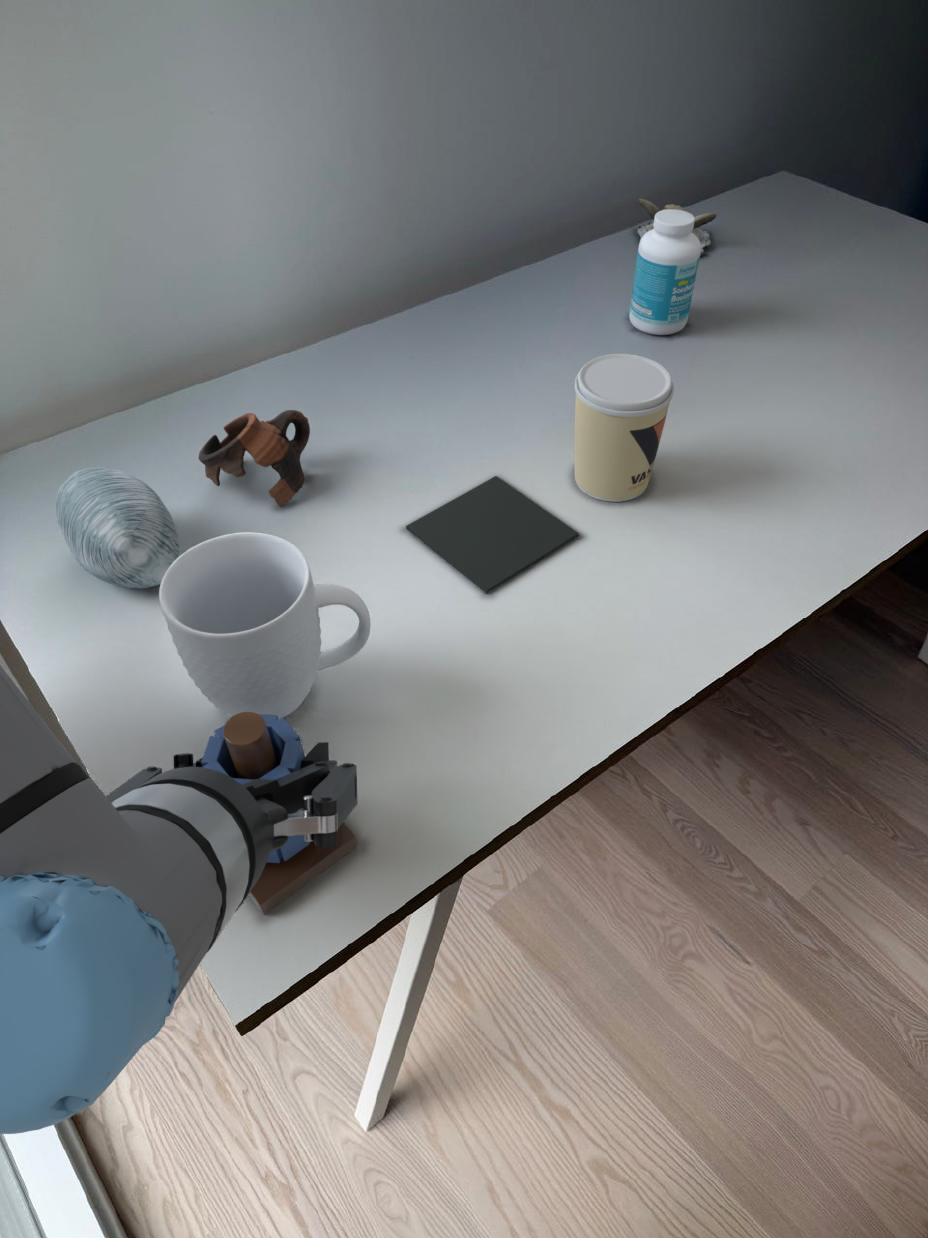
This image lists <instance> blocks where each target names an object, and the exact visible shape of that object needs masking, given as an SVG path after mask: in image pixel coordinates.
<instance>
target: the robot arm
mask: <svg viewBox="0 0 928 1238" xmlns="http://www.w3.org/2000/svg"><path fill="white" fill-rule="evenodd" d="M329 749H330V747H329V742H327V741H325V742H317V743H316V744H315V745H314V746H313V747H312V748H311V750H310V751H309V752H308V753H307V754H306V755H305V758H304V759H303V760H302V769H299V770H297V771H295V772H292V773H290V774H288V775H285V776H283V777H280V778H278V779H276V780H267V779H255V780H252V781H250V782H247V783H245V784H242V785H241V784H240V783H239V782H237V781H236V780H235V779H233V778H231V777H230V776H228V775H226V774H224V773H221V772H219V771H216V770H212V769H208V768H202V767H203V766H202V763H201V762H202V759H203V756H202V757H201V758H199V759H198V760H196V761H195V762H194V754H193V753H191V752H190V753H188V752H184V753H177V754H174V755H173V756H172V757H173V769H169V770H166V771H163V768H162V767H157V766H154V765H153V766H148V767H147V768H143V769H142V770H140V771H138V772H137V773H135V774H134V775H133V776H131V777H130V778H129V779H128V780H126V781H125V782H123V783H122V784H121V785H119V786H118V787H116V788H115V789H114V790H113V791H111V792H110V793H108V794H107V795H106V794H105V793H104V792H103V791H102V789H101V788H100V787H99V786H98V785H97V783H96V782H95V780H93V779H92V778H91V777H90V776H89V775H88V774H87V773H86V771H85V770H84V768H83V767H82V766H81V765H80V764H79V763H78V762H77V761H76V760H75V759H74V757H73V755H71V754H70V753H69V750H68V749H66V747H65V746H64V745H63V743H62V742H61V741H60V740H59V738H58V737H57V736H56V734H55V733H54V732H53V731H52V729H51V727H49V725H48V724H47V723H46V721H45V720H44V719H43V718H42V717H41V715H40V714H39V713H38V711H37V710H36V709H35V708H34V706H33V705H32V703H31V702H30V701H29V700H28V698H27V697H26V696H25V695H24V693H23V692H22V691H21V689H20V688H19V687H18V686H17V685H16V683H15V682H14V681H13V679H12V678H11V676H10V675H9V674H8V673H7V672H6V670H5V669H4V668H3V666H2V665H1V664H0V1135H15V1134H16V1135H17V1134H24V1133H27V1132H32V1131H38V1130H41V1129H45V1128H48V1127H51V1126H55V1125H57V1124H59V1123H62V1122H63V1121H65V1120H68V1119H70V1118H71V1117H73V1116H74V1115H76V1114H78V1113H80V1112H81V1111H83V1110H85V1109H88V1108H89V1107H91V1106H92V1105H93V1104H94V1103H95V1102H96V1101H97V1100H98V1099H99V1097H100V1096H101V1095H102V1094H103V1093H104V1092H105V1091H106V1090H107V1089H108V1088H109V1087H110V1086H111V1084H112V1083H113V1082H114V1081H115V1080H116V1079H117V1077H118V1076H119V1075H120V1074H121V1073H122V1071H123V1070H124V1069H125V1068H126V1066H127V1065H128V1064H129V1063H130V1062H131V1060H132V1059H133V1058H134V1057H135V1056H136V1054H137V1053H138V1052H139V1051H140V1050H141V1048H143V1046H144V1045H146V1044H147V1043H149V1042H150V1041H151V1040H152V1039H154V1038H156V1036H157V1035H158V1034H159V1033H160V1032H161V1030H162V1029H163V1027H164V1026H165V1024H166V1019H167V1018H168V1017H170V1016H171V1014H172V1012H173V1010H174V1007H175V1004H176V1002H177V1000H178V998H179V997H180V996H181V994H182V992H184V991H183V990H184V989H185V987H186V986H187V985H188V983H189V982H190V980H191V978H192V977H193V976H194V974H195V972H196V971H197V969H198V967H199V966H200V964H201V962H202V961H203V959H204V958H205V956H206V955H207V953H208V952H209V951H210V950H211V949H212V947H213V946H214V945H215V943H216V941H218V939H219V937H220V936H221V934H222V933H223V931H224V930H225V929H226V926H227V925H228V924H229V922H230V921H231V920H232V918H233V916H234V915H235V913H237V911H238V910H239V909H240V907H241V906H242V904H244V902H245V901H246V900H247V897H249V895H248V894H249V893H250V892H251V890H252V889H253V887H254V886H255V884H256V883H257V881H258V879H259V878H260V876H261V874H262V872H263V869H264V867H265V865H266V862H267V859H268V857H269V854H270V852H272V851H275V850H277V849H279V848H281V847H283V846H284V845H285V844H286V842H287V840H288V837H289V836H294V835H304V841H306V842H311V841H314V843H315V845H316V846H317V847H321V848H330V847H333V846H336V845H338V829H339V827H340V826H341V825H342V823H343V822H344V823H345V821H346V819H347V818H348V817H349V816H350V814H351V813H352V812H353V810H354V809H355V808H356V807H357V805H358V773H357V772H358V770H357V768H358V767H357V765H356V764H354V763H351V762H345V763H343V764H340V765H338V761H337V760H333V759H332V760H330V755H329V753H330V752H329V751H330V750H329Z"/></svg>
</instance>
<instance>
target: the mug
mask: <svg viewBox="0 0 928 1238" xmlns="http://www.w3.org/2000/svg"><path fill="white" fill-rule="evenodd" d="M158 599H159V605H160V609H161V612H162V614H163V616H164V619H165V622H166V624H167V630H168V632H169V634H170V635H171V638H172V642H173V645H174V646H175V648H176V651H177V654H178V656H179V658H180V660H181V662H182V665H183V667H184V668H185V669H186V671H187V674H188V676H189V677H190V679H191V680H192V681H193V682H194V685H195V686H196V687H197V688H198V689H199V691H200V693H201V694H202V695H203V696H204V697H206V698H207V700H208V701H209V702H210V703H212V704H213V705H214V706H215V708H217V709H218V710H220V711H222V713H224V715H225V714H226V715H227V716H229V717H230V718H231V717H232V716H234V715H235V714H238V713H240V712H246V711H250V712H255V713H258V714H270V715H278V718H279V719H280V718H286V717H287V716H289V715H291V714H292V713H293V712H294V711H296V710H297V709H298V708H299V706H301V704H303V702H304V701H305V699H306V697H307V696H308V694H309V693H310V691H311V690H312V688H313V685H314V682H315V680H316V676H317V673H318V672H321V671H324V670H327V669H329V668H333V667H335V666H338V665H341V664H342V663H344V662H346V661H348V660H350V659H351V658H353V657H355V656H356V655H357V654H358V653H360V652H361V651H362V650H363V648H364V647H365V645H366V644H367V642H368V640H369V638H370V633H371V627H372V626H371V625H372V623H371V615H370V612H369V609H368V606H367V605H366V603H365V601H364V599H363V598H362V597H361V596H360V595H359V594H358V593H357V592H355V591H354V590H352V589H351V588H349V587H346V586H342V585H338V584H332V583H318V584H314V580H313V576H312V572H311V567H310V564H309V561H308V559H307V557H306V556H305V555H304V553H303V552H302V551H301V550H300V549H299V547H298V546H296V545H295V544H293V543H292V542H290V541H288V540H287V539H285V538H282V537H280V536H276V535H273V534H268V533H264V532H263V533H262V532H252V531H250V532H248V531H247V532H244V531H243V532H234V533H227V534H222V535H219V536H216V537H213V538H209V539H207V540H205V541H202V542H200V543H198V544H196V545H194V546H192V547H190V548H188V549H187V550H186V551H184V552H183V553H182V554H180V555H179V557H178V558H177V559H176V560H175V561H174V562H173V563H172V564H171V565H170V567H169V568H168V570H167V571H166V573H165V575H164V577H163V579H162V581H161V584H159V590H158ZM335 605H337V606H345V607H347V608H349V609H350V610H352V611H353V612H354V613H355V614H356V616H357V618H358V626H357V629H356V631H355V632H354V633H353V635H352V636H350V637H349V638H348V639H347V640H346V641H344V642H343V643H341V644H340V645H338V646H336V647H334V648H330V649H327V650H324V651H323V650H321V647H322V638H321V637H322V636H321V634H322V629H321V618H320V615H319V612H320V611H319V610H320V608H325V607H328V606H335Z"/></svg>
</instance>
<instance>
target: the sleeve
mask: <svg viewBox="0 0 928 1238" xmlns="http://www.w3.org/2000/svg"><path fill="white" fill-rule="evenodd" d="M259 715H261V716H262V717H263V718H264V720H265V723H266V726H267V729H268V733H269V736H270V740H271V743H272V746H273V750H274V753H275V757H276V760H277V763H278V767H276V768H275V769H273V770H272V771H270V772H269V773H267V774H266V775H264V776H262V777H261V778H259V779H267V780H276V779H278V778H280V777H283V776H285V775H288V774H290V773H292V772H295V771H297V770H299V769H302V760H303V759H304V758H305V756H306V755H305V752H304V747H303V743H302V740H301V736H300V735H299V734H298V733H297V731H296V730H295V729H294V728H293V727H292V726H291V724H290V723H289V722H288V721H287V720H286V719H285V717H283V718H280V719H279V718H278V715H270V714H259ZM224 726H225V724H224V725H221V726H220V727H218V728H217V729H216V730H214V731H213V735H210V736H209V738H208V740H207V743H206V747H205V749H204V754H203V756H202V757H203V759H202V762H201V763H202V766H203V767H202V768H208V769H212V770H216V771H219V772H221V773H224V774H226V775H228V776H230V777H231V778H233V779H235V780H236V781H237V782H239V783H240V784H241V785H242V784H245V783H247V782H250V781H252V780H253V779H239V777H238V774H237V772H236V769H235V766H234V763H233V760H232V758H231V755H230V752H229V749H228V747H227V744H226V741H225V738H224V735H223V729H224ZM309 844H310V842H306V841H304V835H294V836H289V837H288V840H287V842H286V844H285V845H284V846H283V847H281V848H279V849H277V850H275V851H272V852H270V854H269V857H268V859H267V862H269V863H280V861H281V857H282V858H283V860H284V861H287V860H288V859H289V858H291V857H292V856H294V855H295V854H296V853H298V852H299V851H301V850H302V849H303V848H305V847H306V846H308V845H309Z"/></svg>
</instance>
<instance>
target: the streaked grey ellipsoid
mask: <svg viewBox="0 0 928 1238" xmlns="http://www.w3.org/2000/svg"><path fill="white" fill-rule="evenodd" d="M55 497H56V498H55V499H56V500H55V513H56V522H57V525H58V527H59V530H60V533H61V535H62V538H63V540H64V541H65V543H66V546H67V547H68V550H69V551H70V552H71V554H72V556H73V557H74V558H75V560H76V561H77V563H78V564H79V565H80V566H81V567H82V568H83V569H84V570H85V571H86V572H87V573H89V574H90V575H92V576H93V577H95V578H97V579H99V580H100V581H102V582H104V583H108V584H111V585H113V586H116V587H122V588H131V589H148V588H153V587H156V586H157V587H158V586H160V585H161V581H162V579H163V577H164V575H165V573H166V571H167V570H168V568H169V567H170V565H171V564H172V563H173V562H174V561H175V560H176V559H177V558H178V557H179V556H180V555H181V547H180V540H179V533H178V530H177V528H176V525H175V523H174V520H173V518H172V516H171V513H170V511H169V509H168V508H167V506H166V505H165V503H164V502H163V500H162V499H161V497H160V496H159V495H158V493H157V492H156V491H155V490H154V489H153V488H151V486H150V485H148V484H147V483H145V482H144V481H143V480H142V479H139V478H137V477H136V476H134V475H132V474H130V473H127V472H125V471H122V470H119V469H116V468H112V467H101V466H100V467H98V466H91V467H86V468H83V469H79V470H77V471H74V472H73V473H72V474H71V475H70V476H69V477H68V478H67V479H66V480H65V481H64V482H63V483H62V484H61V485H60V486H59V489H58V491H57V493H56V496H55Z"/></svg>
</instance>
